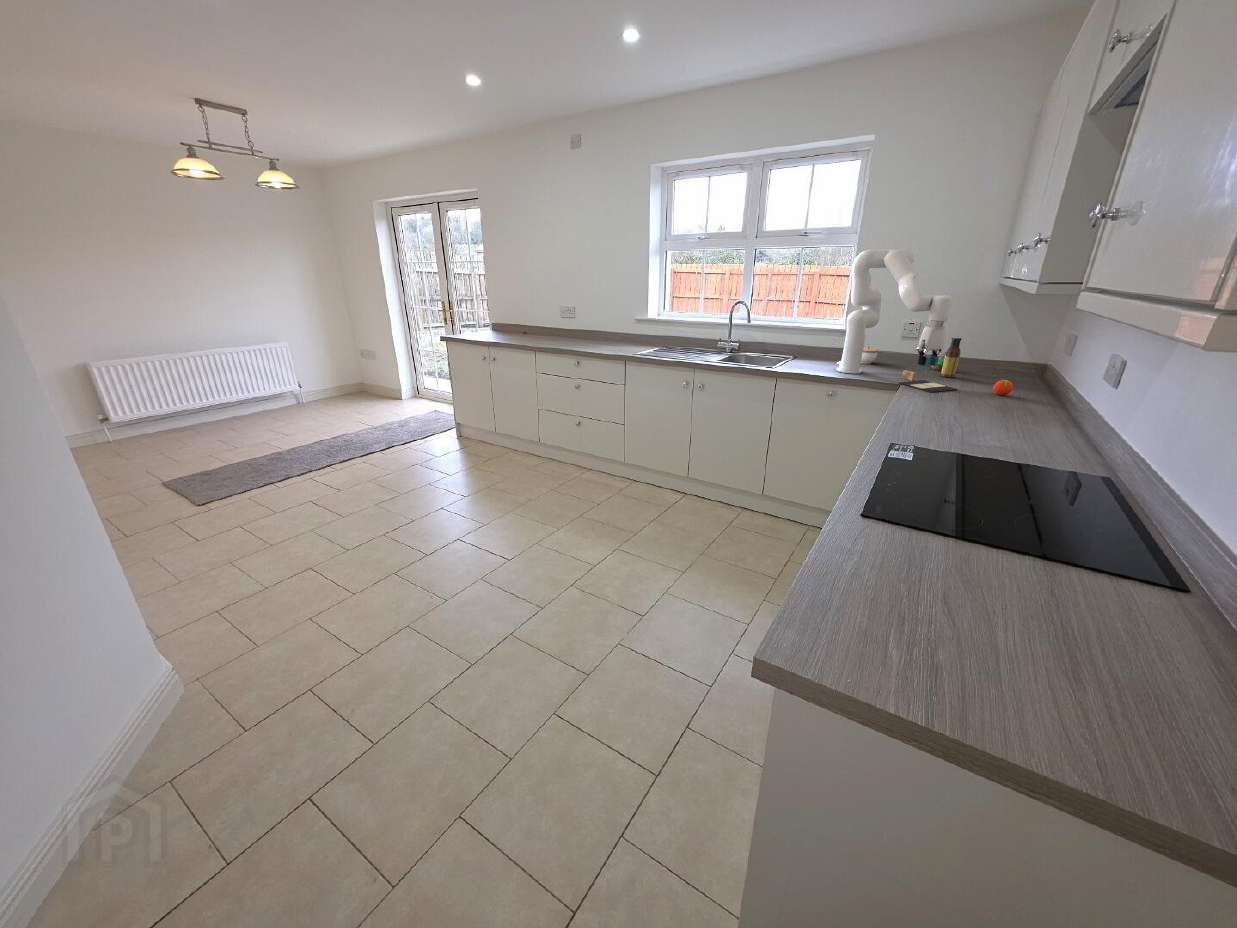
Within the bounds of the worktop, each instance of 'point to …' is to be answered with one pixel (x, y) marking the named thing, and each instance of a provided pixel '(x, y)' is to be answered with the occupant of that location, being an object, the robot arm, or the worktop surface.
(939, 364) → the food container
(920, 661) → the worktop surface
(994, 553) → the worktop surface
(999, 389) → the tomato
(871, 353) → the trinket box
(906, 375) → the letter I
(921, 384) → the word mat
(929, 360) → the letter H
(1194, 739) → the worktop surface
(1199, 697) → the worktop surface
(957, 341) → the sauce bottle
